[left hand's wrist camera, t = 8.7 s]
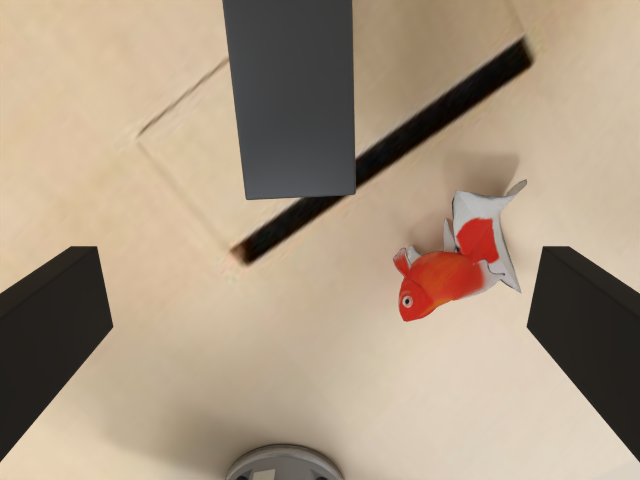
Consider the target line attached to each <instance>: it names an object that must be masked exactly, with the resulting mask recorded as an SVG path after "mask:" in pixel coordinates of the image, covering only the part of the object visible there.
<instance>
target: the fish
mask: <svg viewBox="0 0 640 480" xmlns="http://www.w3.org/2000/svg"><path fill="white" fill-rule="evenodd" d="M526 184H527V180H523V181H521V182H519V183H518V184H516V185H515V186H514V187H513V188H512V189H511V190H509V191H508V192H507V194H506V196H503V197H496V196H484V195H479V194H475V193H470V192H463V191H456V193H455V195H454V198H453V201H452V210H453V227H454V236H455V240H454V238H453V235H452V233H451V230H450V228H449V225H448V222H447V219H445V223H444V234H443V237H444V249H443V251H437V252H432V253H428V254H425V255H423V256H422V255H421V254H420V253H419V252H418V251H417V250H416V249H415V248H414V247H413V246H410V247H409V249H408V257H407V254H406V248H402V249H400V251H399V252H398V254H397V255H396V256H395V257H394V258H393V261H394V263H395V266H396V268H397V269H398V270H399V271H400V272H401V274H402V275H403V276H404V280H403V282H402V285H401V290H400V293H399V311H400V314H401V316H402V318H403V320H404V321H406V322H408V321H412V320H416V319H421V318H424V317H426V316H427V315H429V314H430V313H431V312H433V311H434V310H435V308H436V307H438V306H440V305H442V304H445V303H447V302H449V301H451V300H458V299H462V298H466V297H470V296H473V295H476V294H479V293H482V292H485V291H486V290H488V289H489V288H491V287H492V286H493V285H495V284H496V283H497V282H498V281H499V280H501V281H502V282H504V283H505V284H506V285H508V286H509V287H511V288H513V289H515V290H516V291H518V292H520V293H521V290H520V287H519V283H518V280H517V277H516V274H515V270H514V267H513V264H512V262H511V259H510V256H509V253H508V250H507V247H506V244H505V241H504V237H503V233H502V230H501V226H500V218H499V213H500V212H501V211H502V209H503V208H504V207H505V206H506V205H507V204H508V203H509V202H510V201H511V200H512V199H513V198H514V197H515V196H516V195H517V193H518V192H519V191H520V190H521V189H522V188H524V187H525V186H526ZM455 249H457V252H459V253H454V252H455Z"/></svg>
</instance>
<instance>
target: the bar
mask: <svg viewBox="0 0 640 480" xmlns="http://www.w3.org/2000/svg"><path fill="white" fill-rule="evenodd" d="M222 1H223V10H224V18H225V27H226V35H227V44H228V52H229V61H230V69H231V78H232V86H233V95H234V103H235V112H236V120H237V129H238V137H239V146H240V154H241V162H242V171H243V179H244V188H245V196H246V200H258V199H278V198H298V197H319V196H339V195H354V194H355V193H356V178H355V125H354V71H353V18H352V0H222Z"/></svg>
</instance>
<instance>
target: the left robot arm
mask: <svg viewBox="0 0 640 480" xmlns="http://www.w3.org/2000/svg"><path fill="white" fill-rule="evenodd" d="M112 328H113V323H112V318H111V313H110V308H109V303H108V298H107V293H106V288H105V283H104V278H103V273H102V269H101V264H100V259H99V254H98V249H97V246H71V247H69V248H68V249H66V250H65V251H63V252H62V253H60V254H59V255H57V256H56V257H54V258H53V259H51V260H50V261H48V262H47V263H45V264H44V265H42V266H41V267H39V268H38V269H36V270H35V271H33V272H32V273H30V274H29V275H27V276H26V277H24V278H23V279H21V280H20V281H18V282H17V283H15V284H14V285H12V286H11V287H9V288H8V289H6V290H5V291H3V292H2V293H0V462H1V461H2V460H3V458H4V457H5V456H6V455H7V454H8V452H9V451H10V450H11V449H12V448H13V446H14V445H15V444H16V443H17V442H18V440H19V439H20V438H21V437H22V436H23V435H24V433H25V432H26V431H27V430H28V429H29V427H30V426H31V425H32V424H33V423H34V421H35V420H36V419H37V418H38V417H39V415H40V414H41V413H42V412H43V411H44V409H45V408H46V407H47V406H48V405H49V403H50V402H51V401H52V400H53V399H54V397H55V396H56V395H57V394H58V393H59V391H60V390H61V389H62V388H63V387H64V385H65V384H66V383H67V382H68V381H69V380H70V378H71V377H72V376H73V375H74V374H75V372H76V371H77V370H78V369H79V368H80V366H81V365H82V364H83V363H84V362H85V360H86V359H87V358H88V357H89V356H90V354H91V353H92V352H93V351H94V350H95V348H96V347H97V346H98V345H99V344H100V342H101V341H102V340H103V339H104V338H105V336H106V335H107V334H108V333H109V332H110V331H111V329H112ZM527 328H528V329H529V331H530V332H531V333H532V334H533V335H534V336H535V338H536V339H537V340H538V341H539V342H540V344H541V345H542V346H543V347H544V348H545V350H546V351H547V352H548V353H549V354H550V356H551V357H552V358H553V359H554V360H555V362H556V363H557V364H558V365H559V366H560V368H561V369H562V370H563V371H564V372H565V374H566V375H567V376H568V377H569V378H570V380H571V381H572V382H573V383H574V384H575V386H576V387H577V388H578V389H579V390H580V391H581V393H582V394H583V395H584V396H585V397H586V399H587V400H588V401H589V402H590V403H591V405H592V406H593V407H594V408H595V409H596V411H597V412H598V413H599V414H600V415H601V417H602V418H603V419H604V420H605V421H606V423H607V424H608V425H609V426H610V427H611V429H612V430H613V431H614V432H615V433H616V435H617V436H618V437H619V438H620V439H621V440H622V442H623V443H624V444H625V445H626V446H627V448H628V449H629V450H630V451H631V452H632V454H633V455H634V456H635V457H636V458H637V460H638V461H639V462H640V293H638V292H637V291H635V290H634V289H632V288H631V287H629V286H628V285H626V284H625V283H623V282H622V281H620V280H619V279H617V278H616V277H614V276H613V275H611V274H610V273H608V272H607V271H605V270H604V269H602V268H601V267H599V266H598V265H596V264H595V263H593V262H592V261H590V260H589V259H587V258H586V257H584V256H583V255H581V254H580V253H578V252H577V251H575V250H574V249H572V248H571V247H569V246H543V249H542V254H541V259H540V264H539V269H538V273H537V278H536V283H535V288H534V293H533V298H532V303H531V308H530V313H529V318H528V323H527ZM226 480H343V478H342V475H341V473H340V472H339V470H338V469H337V467H336V466H335V465H334V464H333V463H332V462H331V461H330V460H329V459H327V458H326V457H324V456H323V455H321V454H319V453H318V452H315V451H313V450H310V449H308V448H304V447H300V446H294V445H271V446H265V447H261V448H258V449H255V450H253V451H251V452H248V453H247V454H245V455H243V456H242V457H241V458H239V459H238V460H237V461H236V462H235V463H234V464H233V465H232V467H231V468H230V470H229V472H228V474H227V476H226Z"/></svg>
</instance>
